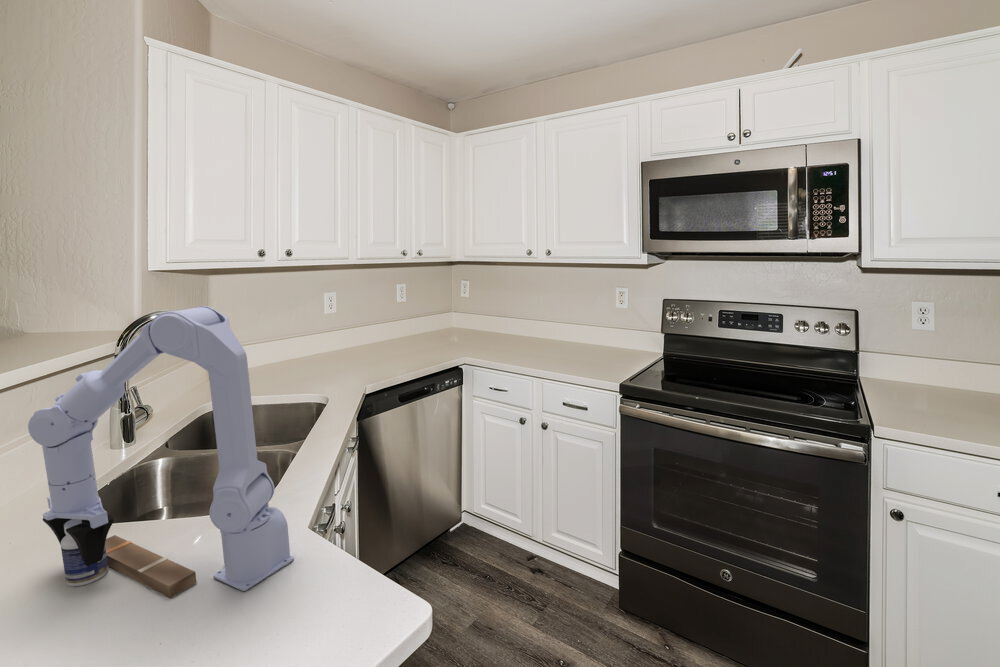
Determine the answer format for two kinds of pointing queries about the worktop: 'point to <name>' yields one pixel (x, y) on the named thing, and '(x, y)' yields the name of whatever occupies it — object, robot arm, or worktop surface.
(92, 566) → the pill bottle
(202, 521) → the worktop surface
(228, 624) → the worktop surface
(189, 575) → the striped brown wooden bar
